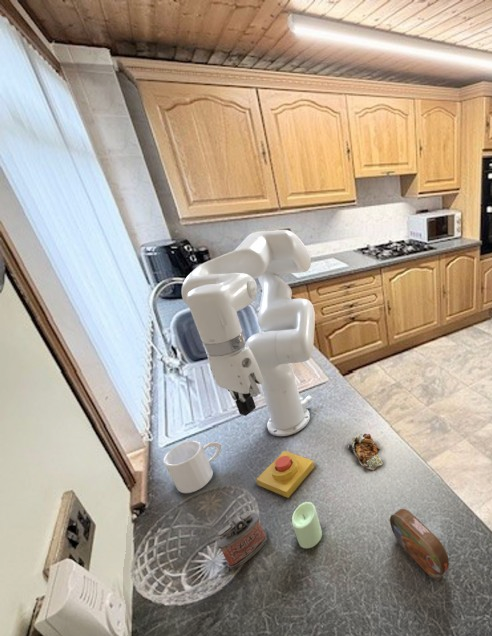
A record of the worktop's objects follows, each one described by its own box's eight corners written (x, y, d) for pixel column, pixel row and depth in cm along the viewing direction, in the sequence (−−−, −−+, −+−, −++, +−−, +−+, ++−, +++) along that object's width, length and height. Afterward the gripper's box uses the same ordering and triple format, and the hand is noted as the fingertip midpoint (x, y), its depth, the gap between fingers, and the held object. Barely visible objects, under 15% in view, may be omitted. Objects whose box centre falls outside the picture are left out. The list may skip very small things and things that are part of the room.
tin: (390, 534, 75) (386, 508, 72) (401, 524, 77) (398, 498, 74) (440, 589, 66) (439, 562, 62) (451, 575, 68) (451, 549, 64)
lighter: (262, 531, 77) (250, 501, 73) (270, 541, 75) (258, 510, 71) (225, 562, 72) (210, 531, 67) (232, 573, 70) (217, 542, 65)
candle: (310, 553, 73) (303, 528, 69) (293, 542, 75) (285, 517, 71) (327, 531, 77) (320, 507, 73) (310, 522, 79) (302, 497, 75)
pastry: (367, 474, 90) (366, 464, 88) (346, 447, 98) (344, 438, 97) (390, 460, 94) (389, 450, 92) (367, 435, 102) (366, 426, 101)
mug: (232, 472, 92) (221, 444, 88) (180, 499, 85) (165, 471, 81) (225, 454, 98) (214, 428, 94) (175, 478, 91) (161, 451, 87)
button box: (286, 456, 96) (283, 445, 95) (315, 466, 93) (312, 455, 91) (257, 485, 88) (253, 474, 86) (288, 498, 84) (284, 487, 83)
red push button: (283, 458, 91) (282, 454, 90) (294, 462, 90) (293, 457, 89) (273, 469, 88) (272, 464, 87) (284, 473, 87) (283, 468, 86)
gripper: (265, 340, 73) (284, 408, 81) (215, 329, 79) (238, 394, 87) (235, 358, 67) (259, 430, 75) (184, 345, 72) (211, 414, 80)
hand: (248, 411), depth 81 cm, fingers closed
